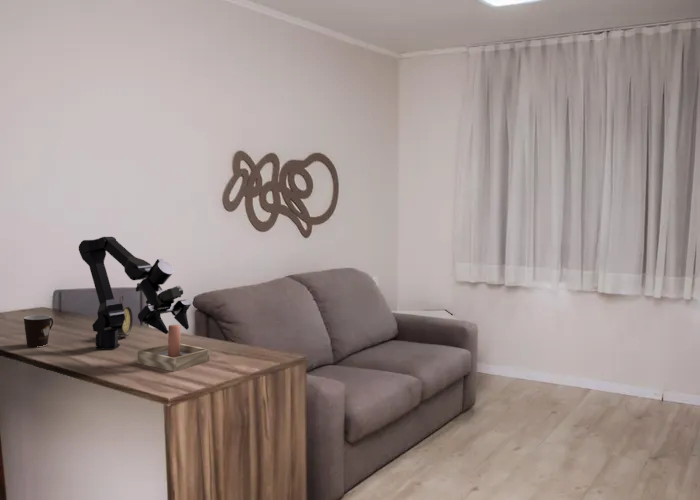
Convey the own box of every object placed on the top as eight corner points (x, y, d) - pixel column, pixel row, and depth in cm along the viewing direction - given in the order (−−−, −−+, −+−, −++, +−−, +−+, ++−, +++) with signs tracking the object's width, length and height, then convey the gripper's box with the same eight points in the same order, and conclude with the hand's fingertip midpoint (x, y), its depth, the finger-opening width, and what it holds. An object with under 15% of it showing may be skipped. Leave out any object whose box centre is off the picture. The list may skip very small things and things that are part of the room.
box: (209, 361, 207) (209, 349, 207) (173, 371, 193) (174, 358, 193) (174, 353, 215) (174, 342, 215) (137, 363, 201) (137, 350, 201)
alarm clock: (122, 341, 230) (123, 297, 229) (107, 340, 230) (108, 297, 229) (133, 335, 241) (134, 293, 240) (119, 334, 241) (120, 292, 240)
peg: (177, 360, 207) (178, 324, 206) (181, 363, 203) (182, 326, 202) (166, 361, 205) (167, 325, 204) (169, 364, 201) (170, 327, 200)
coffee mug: (30, 349, 212) (31, 320, 211) (18, 345, 217) (18, 316, 216) (64, 344, 221) (64, 316, 221) (51, 340, 226) (51, 313, 226)
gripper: (144, 280, 196) (169, 319, 191) (187, 276, 212) (211, 312, 207) (126, 302, 200) (150, 341, 196) (170, 296, 216) (193, 332, 212)
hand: (177, 330), depth 202 cm, fingers open, 9 cm apart
